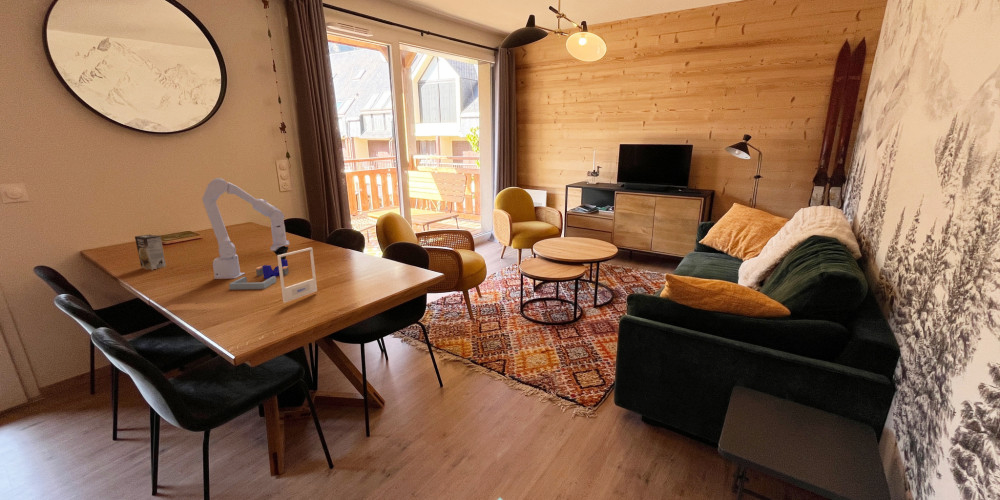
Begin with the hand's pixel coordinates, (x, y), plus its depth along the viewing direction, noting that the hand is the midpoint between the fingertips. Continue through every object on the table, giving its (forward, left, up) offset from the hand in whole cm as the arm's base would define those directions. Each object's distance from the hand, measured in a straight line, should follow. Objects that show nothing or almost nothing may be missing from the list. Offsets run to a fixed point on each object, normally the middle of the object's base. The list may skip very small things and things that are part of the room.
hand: (282, 262), depth 194 cm
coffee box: (-65, +6, -4) cm, 65 cm away
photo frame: (+26, -41, -4) cm, 49 cm away
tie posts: (0, -10, -3) cm, 11 cm away
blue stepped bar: (+1, -10, -4) cm, 11 cm away
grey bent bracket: (0, -26, -3) cm, 26 cm away
